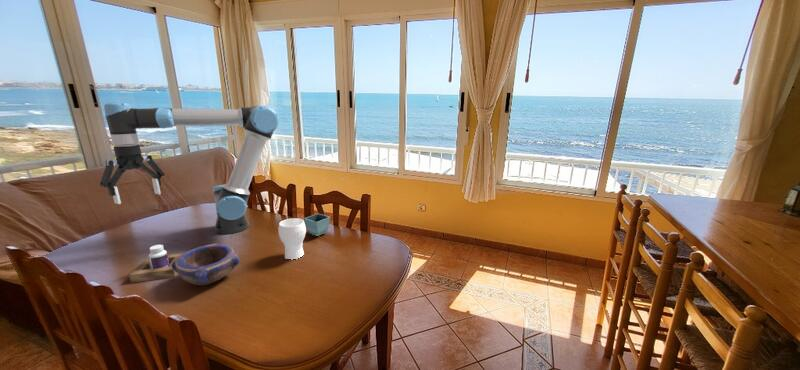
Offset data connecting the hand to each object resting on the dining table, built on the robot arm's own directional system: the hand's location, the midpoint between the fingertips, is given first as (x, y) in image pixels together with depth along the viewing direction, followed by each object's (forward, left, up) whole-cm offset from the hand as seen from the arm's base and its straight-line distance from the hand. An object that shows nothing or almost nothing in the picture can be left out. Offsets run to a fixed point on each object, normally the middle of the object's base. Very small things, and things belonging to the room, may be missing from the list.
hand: (139, 198), depth 119 cm
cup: (-57, +19, -25) cm, 65 cm away
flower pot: (-68, 0, -25) cm, 72 cm away
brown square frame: (-9, +16, -25) cm, 31 cm away
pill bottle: (-9, +16, -25) cm, 31 cm away
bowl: (-28, +28, -25) cm, 47 cm away
